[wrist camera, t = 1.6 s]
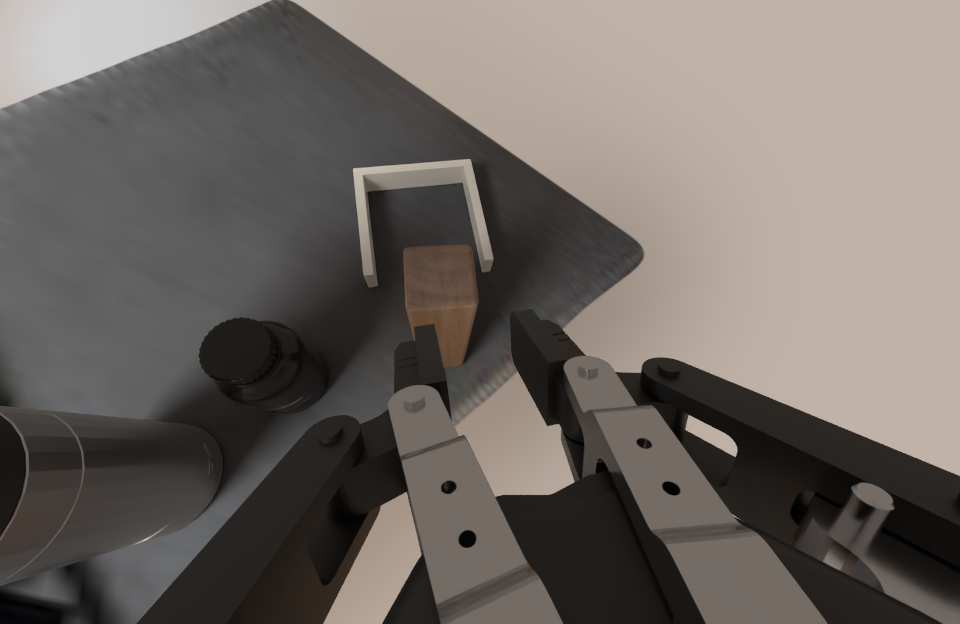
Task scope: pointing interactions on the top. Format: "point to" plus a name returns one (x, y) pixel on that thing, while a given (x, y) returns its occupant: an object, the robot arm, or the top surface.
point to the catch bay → (417, 177)
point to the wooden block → (442, 295)
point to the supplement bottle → (263, 365)
